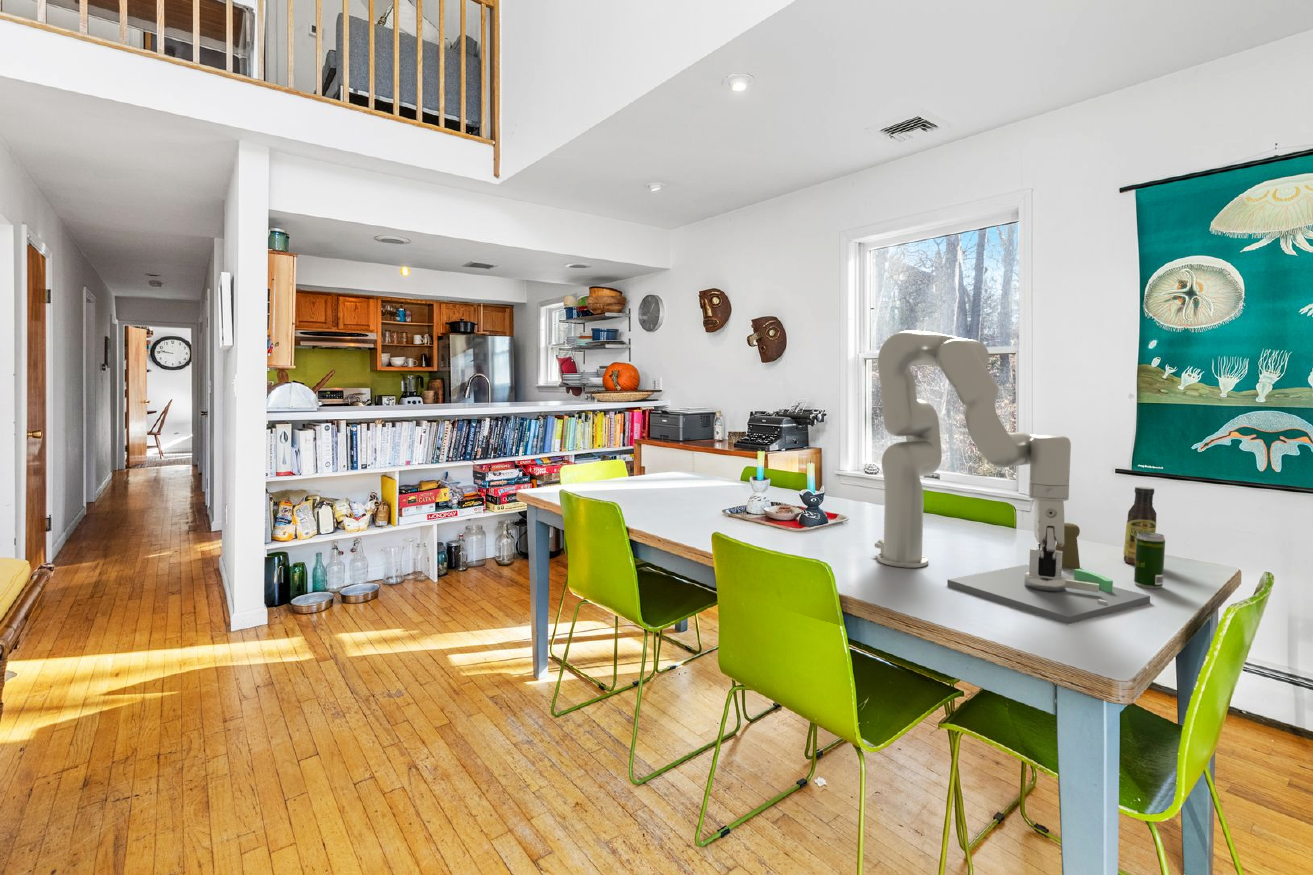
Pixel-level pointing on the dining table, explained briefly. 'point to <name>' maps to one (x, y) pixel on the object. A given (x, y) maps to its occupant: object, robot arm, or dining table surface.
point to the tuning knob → (1053, 582)
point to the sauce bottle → (1139, 520)
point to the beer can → (1149, 560)
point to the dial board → (1050, 594)
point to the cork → (1070, 547)
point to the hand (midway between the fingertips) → (1045, 573)
